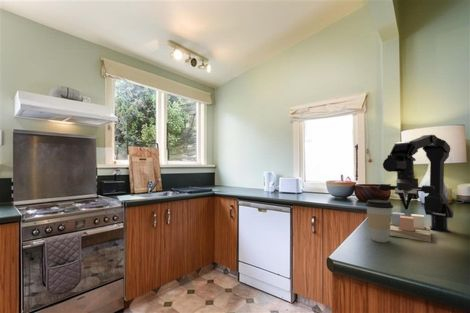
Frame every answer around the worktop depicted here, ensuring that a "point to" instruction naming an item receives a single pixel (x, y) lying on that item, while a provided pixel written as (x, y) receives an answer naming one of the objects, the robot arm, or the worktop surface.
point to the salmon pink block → (406, 223)
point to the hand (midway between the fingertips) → (406, 209)
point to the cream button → (418, 221)
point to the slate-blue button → (396, 218)
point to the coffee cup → (379, 219)
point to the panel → (411, 233)
